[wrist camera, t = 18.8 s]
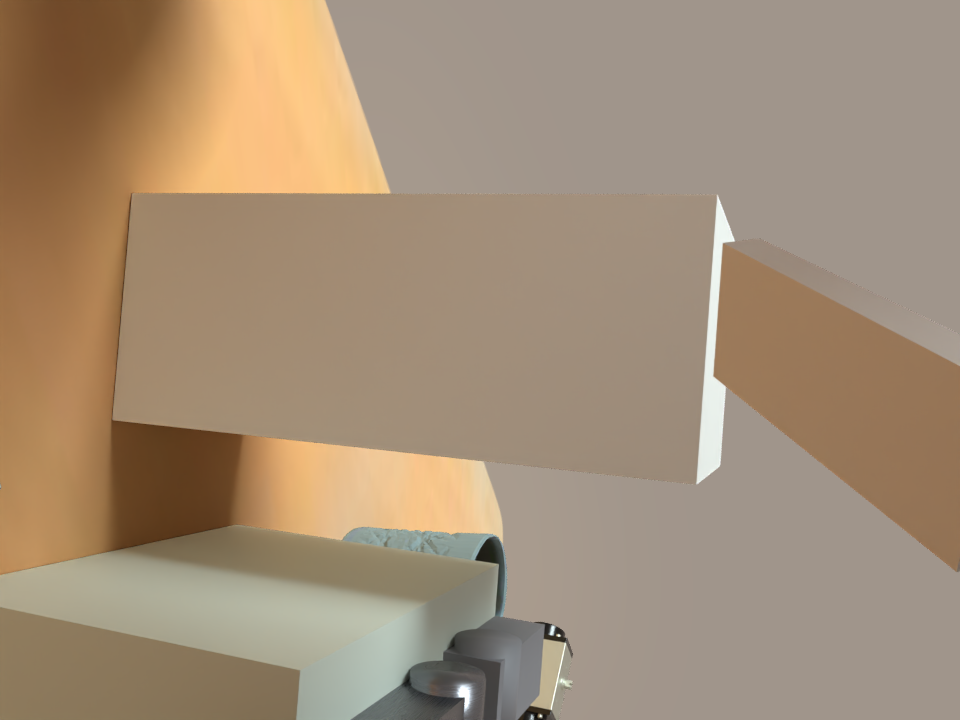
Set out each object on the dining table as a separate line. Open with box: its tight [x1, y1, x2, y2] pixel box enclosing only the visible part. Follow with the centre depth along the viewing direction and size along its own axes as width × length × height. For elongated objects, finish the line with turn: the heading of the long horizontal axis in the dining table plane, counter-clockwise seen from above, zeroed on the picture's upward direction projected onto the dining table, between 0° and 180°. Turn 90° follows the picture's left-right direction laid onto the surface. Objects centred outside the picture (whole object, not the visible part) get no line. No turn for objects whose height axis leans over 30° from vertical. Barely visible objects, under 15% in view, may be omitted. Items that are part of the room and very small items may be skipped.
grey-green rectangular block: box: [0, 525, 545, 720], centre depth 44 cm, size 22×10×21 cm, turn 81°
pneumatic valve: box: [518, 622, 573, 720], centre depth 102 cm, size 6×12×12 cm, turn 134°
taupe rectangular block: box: [112, 193, 735, 485], centre depth 47 cm, size 12×12×30 cm
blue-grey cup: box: [343, 527, 507, 617], centre depth 72 cm, size 10×10×12 cm
